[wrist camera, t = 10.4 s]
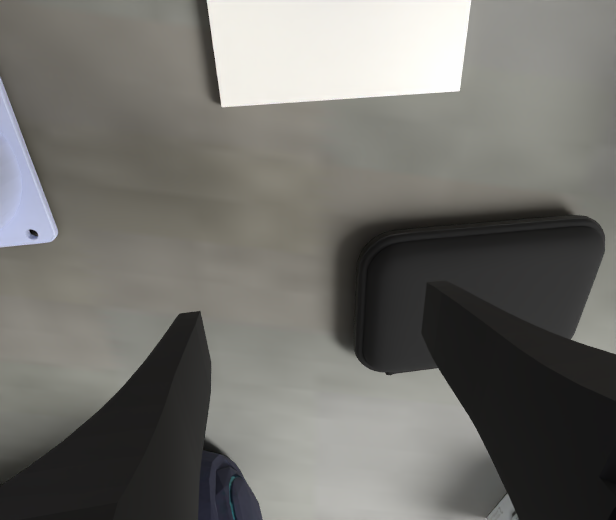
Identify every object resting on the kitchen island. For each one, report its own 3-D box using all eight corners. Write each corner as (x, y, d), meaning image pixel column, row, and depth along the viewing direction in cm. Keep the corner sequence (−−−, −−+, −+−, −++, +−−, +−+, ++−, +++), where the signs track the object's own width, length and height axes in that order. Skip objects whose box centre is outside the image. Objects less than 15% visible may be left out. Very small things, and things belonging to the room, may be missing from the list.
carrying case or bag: (346, 368, 27) (544, 342, 29) (358, 403, 25) (575, 372, 26) (351, 223, 22) (590, 204, 24) (367, 247, 20) (634, 223, 21)
